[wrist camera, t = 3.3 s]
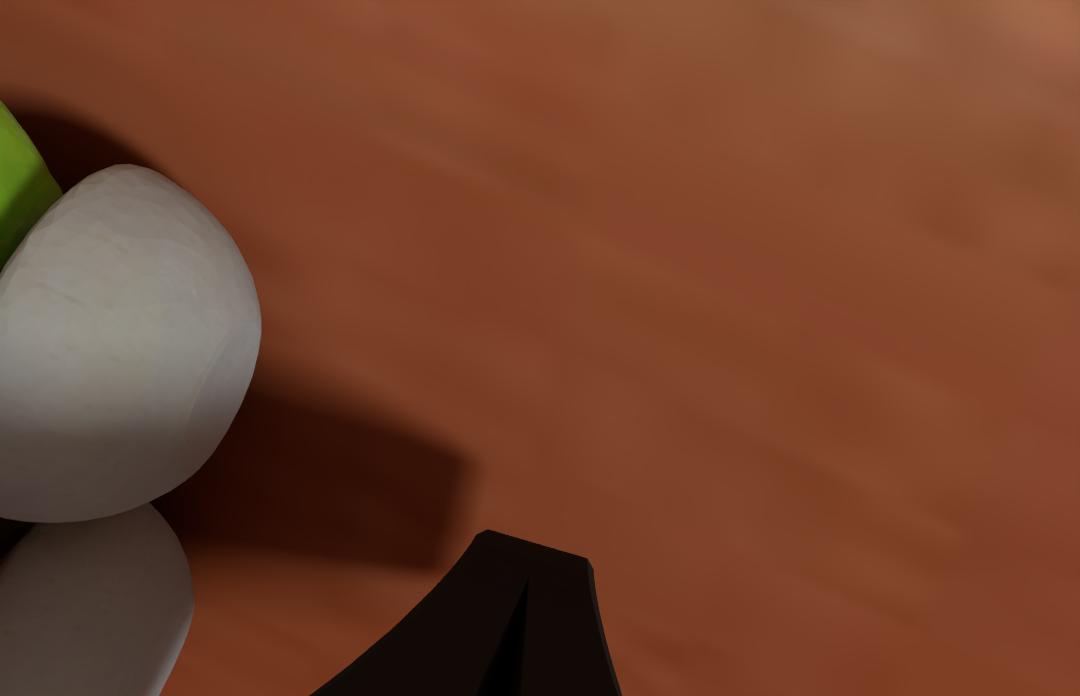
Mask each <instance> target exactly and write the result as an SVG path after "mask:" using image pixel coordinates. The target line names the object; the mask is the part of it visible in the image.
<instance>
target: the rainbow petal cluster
mask: <svg viewBox="0 0 1080 696" xmlns="http://www.w3.org/2000/svg"><path fill="white" fill-rule="evenodd" d="M260 338H261V314H260V305H259V301H258V297H257V293H256V289H255V285H254V281H253V277H252V275H251V273H250V271H249V269H248V267H247V265H246V263H245V261H244V259H243V257H242V255H241V253H240V251H239V249H238V247H237V245H236V244H235V242H234V240H233V239H232V237H231V236H230V235H229V233H228V232H227V231H226V230H225V228H224V227H223V226H222V225H221V224H220V223H219V221H218V220H217V219H216V218H215V217H214V216H213V215H212V213H211V212H210V211H209V210H208V209H207V208H206V207H205V206H204V205H202V204H201V203H200V202H199V201H198V200H197V199H196V198H195V197H194V196H193V195H191V194H190V193H188V192H187V191H185V190H184V189H183V188H181V187H180V186H178V185H177V184H175V183H174V182H172V181H171V180H170V179H168V178H167V177H165V176H163V175H162V174H160V173H158V172H156V171H154V170H152V169H150V168H145V167H141V166H137V165H132V164H119V165H114V166H111V167H108V168H105V169H103V170H100V171H98V172H95V173H93V174H91V175H89V176H87V177H86V178H85V179H83V180H82V181H81V182H79V183H78V184H77V185H75V186H74V187H73V188H71V189H70V190H69V191H68V192H67V193H65V194H64V195H63V193H62V190H61V188H60V187H59V185H58V184H57V182H56V181H55V180H54V178H53V177H52V175H51V174H50V172H49V170H48V168H47V166H46V164H45V162H44V160H43V158H42V157H41V155H40V153H39V152H38V150H37V149H36V147H35V145H34V144H33V142H32V141H31V139H30V138H29V136H28V135H27V134H26V132H25V131H24V130H23V128H22V127H21V126H20V124H19V123H18V122H17V120H16V119H15V118H14V116H13V115H12V114H11V112H10V111H9V110H8V108H7V107H6V106H5V105H4V104H3V102H2V101H1V100H0V696H159V694H160V692H161V690H162V688H163V686H164V684H165V682H166V680H167V678H168V676H169V674H170V673H171V671H172V669H173V666H174V664H175V662H176V660H177V657H178V655H179V653H180V651H181V648H182V646H183V644H184V641H185V639H186V636H187V633H188V630H189V627H190V624H191V620H192V616H193V610H194V592H193V584H192V577H191V572H190V568H189V564H188V561H187V558H186V555H185V553H184V551H183V548H182V546H181V544H180V542H179V540H178V538H177V536H176V534H175V533H174V531H173V530H172V528H171V527H170V526H169V524H168V523H167V522H166V520H165V519H164V518H163V516H162V515H161V514H160V513H159V512H158V511H157V510H156V509H155V508H154V507H153V506H152V505H151V504H150V503H149V502H150V501H152V500H154V499H156V498H158V497H160V496H162V495H163V494H165V493H167V492H169V491H171V490H173V489H174V488H176V487H177V486H179V485H180V484H182V483H183V482H185V481H186V480H187V479H188V478H189V477H191V476H192V475H193V474H194V473H195V472H197V471H198V470H199V469H200V468H201V467H202V465H203V464H204V463H205V462H206V461H207V460H208V459H209V457H210V456H211V455H212V454H213V453H214V451H215V450H216V448H217V447H218V445H219V443H220V442H221V440H222V439H223V437H224V436H225V434H226V432H227V431H228V429H229V427H230V425H231V423H232V421H233V419H234V418H235V416H236V414H237V412H238V410H239V408H240V406H241V404H242V402H243V399H244V397H245V394H246V392H247V389H248V386H249V384H250V381H251V379H252V376H253V373H254V369H255V365H256V360H257V356H258V351H259V345H260ZM33 522H35V524H34V525H33Z"/></svg>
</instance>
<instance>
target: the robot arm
mask: <svg viewBox="0 0 1080 696" xmlns="http://www.w3.org/2000/svg"><path fill="white" fill-rule="evenodd" d="M309 696H622V694H621V690H620V687H619V684H618V680H617V677H616V674H615V670H614V667H613V664H612V661H611V657H610V653H609V650H608V646H607V642H606V638H605V634H604V630H603V625H602V621H601V617H600V612H599V607H598V602H597V596H596V590H595V582H594V570H593V568H592V566H591V564H590V562H589V561H588V559H587V558H584V557H581V556H577V555H574V554H570V553H567V552H564V551H560V550H557V549H553V548H550V547H546V546H543V545H540V544H536V543H533V542H529V541H526V540H523V539H519V538H516V537H512V536H509V535H505V534H502V533H499V532H495V531H492V530H488V529H487V530H485V531H483V532H481V533H479V534H477V535H476V536H475V538H474V539H473V541H472V543H471V544H470V546H469V547H468V548H467V550H466V551H465V552H464V554H463V555H462V556H461V558H460V559H459V560H458V561H457V563H456V564H455V565H454V566H453V567H452V569H451V570H450V571H449V572H448V573H447V574H446V575H445V576H444V577H443V579H442V580H441V581H440V582H439V583H438V584H437V585H436V586H435V587H434V588H433V589H432V590H431V591H430V592H429V593H428V594H427V595H426V596H425V597H424V598H423V599H422V600H421V601H420V602H419V603H418V604H417V605H416V606H415V607H414V608H413V609H412V610H411V611H410V612H409V613H408V614H407V615H406V616H405V617H404V618H403V619H402V620H401V621H400V622H399V623H398V624H397V625H396V626H395V627H394V628H392V629H391V630H390V631H389V632H388V633H387V634H385V635H384V636H383V637H382V638H381V639H380V640H378V641H377V642H376V643H375V644H374V645H373V646H371V647H370V648H369V649H368V650H367V651H366V652H364V653H363V654H362V655H361V656H360V657H358V658H357V659H356V660H355V661H354V662H353V663H351V664H350V665H349V666H348V667H346V668H345V669H344V670H343V671H341V672H340V673H339V674H337V675H336V676H335V677H334V678H332V679H331V680H330V681H328V682H327V683H326V684H324V685H323V686H322V687H320V688H319V689H318V690H316V691H315V692H314V693H312V694H311V695H309Z"/></svg>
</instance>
